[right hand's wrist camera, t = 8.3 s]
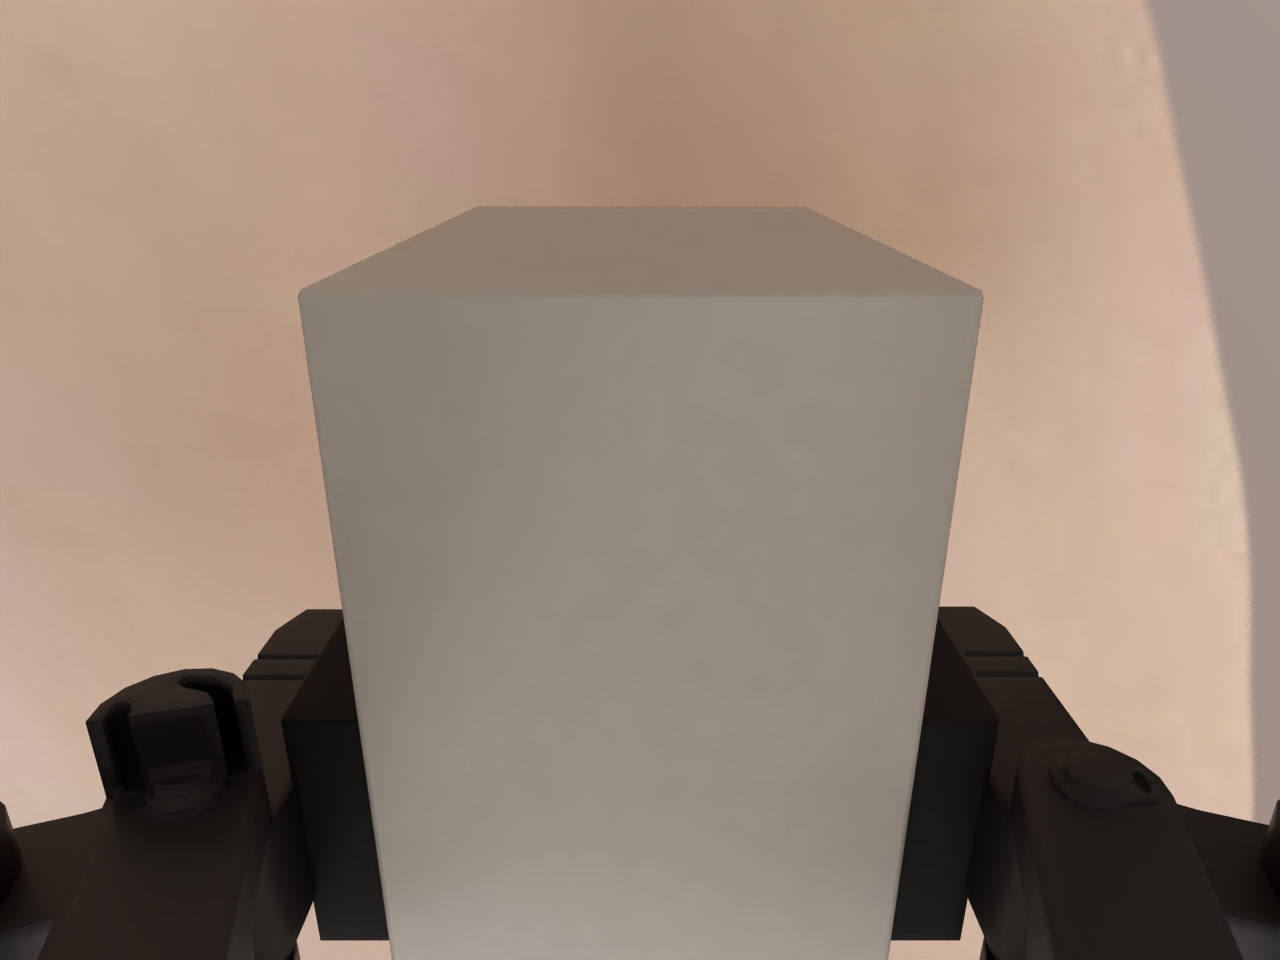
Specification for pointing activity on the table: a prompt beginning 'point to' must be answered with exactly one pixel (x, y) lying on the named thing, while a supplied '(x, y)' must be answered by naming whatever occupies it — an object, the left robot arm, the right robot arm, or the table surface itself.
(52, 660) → the table surface
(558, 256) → the beam
